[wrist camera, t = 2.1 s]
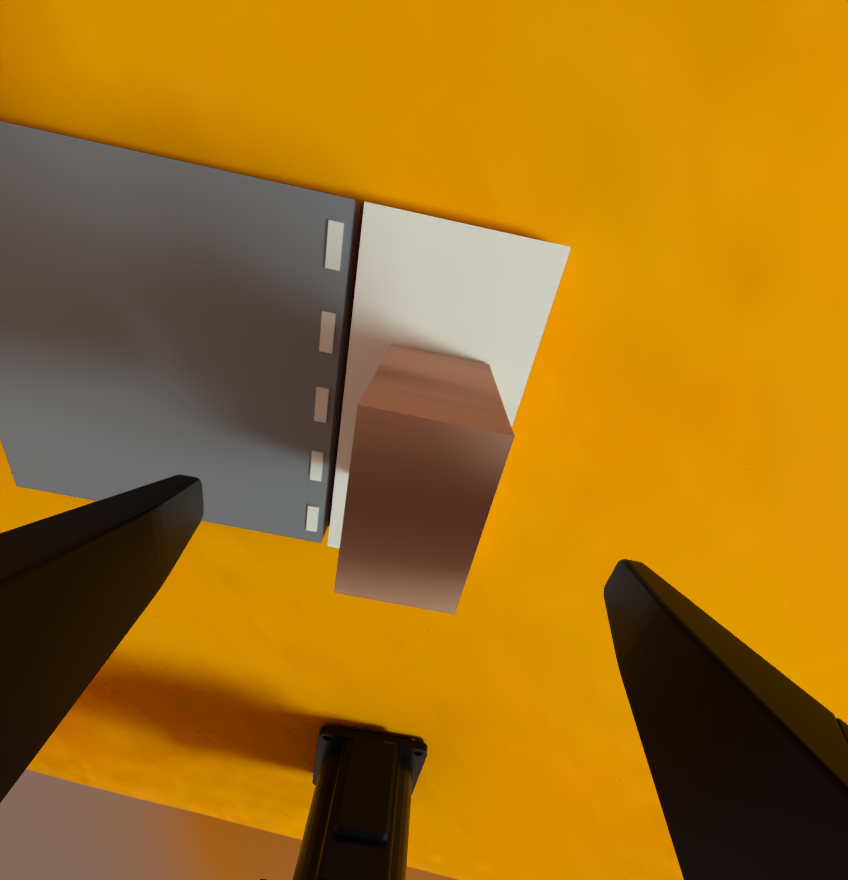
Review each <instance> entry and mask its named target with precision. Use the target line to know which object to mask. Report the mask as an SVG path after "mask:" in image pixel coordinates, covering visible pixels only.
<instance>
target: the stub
mask: <svg viewBox="0 0 848 880" xmlns="http://www.w3.org/2000/svg"><path fill="white" fill-rule="evenodd" d="M570 249H571V247H568V246H564V245H559V244H555V243H550V242H546V241H541V240H536V239H532V238H527V237H523V236H518V235H514V234H509V233H505V232H500V231H496V230H491V229H487V228H482V227H478V226H473V225H469V224H464V223H460V222H455V221H451V220H446V219H442V218H437V217H433V216H428V215H424V214H419V213H415V212H410V211H406V210H401V209H397V208H392V207H388V206H383V205H379V204H374V203H370V202H365V201H364V209H363V219H362V228H361V238H360V247H359V256H358V266H357V275H356V284H355V294H354V303H353V312H352V322H351V331H350V341H349V350H348V359H347V369H346V378H345V387H344V397H343V406H342V416H341V425H340V434H339V444H338V453H337V462H336V472H335V481H334V490H333V500H332V509H331V519H330V528H329V537H328V546H330V547H336V548H340V549H339V557H338V565H337V573H336V581H335V589H334V592H335V593H341V594H346V595H351V596H357V597H362V598H368V599H373V600H379V601H384V602H390V603H395V604H401V605H406V606H412V607H417V608H423V609H428V610H434V611H439V612H445V613H450V614H455V611H456V608H457V605H458V602H459V599H460V596H461V593H462V590H463V587H464V584H465V581H466V578H467V575H468V572H469V569H470V566H471V564H472V561H473V558H474V555H475V552H476V549H477V546H478V543H479V540H480V537H481V534H482V531H483V528H484V525H485V522H486V519H487V516H488V513H489V510H490V507H491V504H492V501H493V498H494V495H495V492H496V489H497V486H498V483H499V480H500V477H501V474H502V471H503V468H504V465H505V462H506V459H507V457H508V454H509V451H510V448H511V445H512V442H513V439H514V434H513V431H512V425H513V422H514V419H515V416H516V413H517V410H518V407H519V404H520V401H521V398H522V395H523V392H524V389H525V386H526V383H527V380H528V377H529V374H530V370H531V367H532V364H533V361H534V358H535V355H536V352H537V349H538V346H539V343H540V340H541V337H542V334H543V331H544V328H545V325H546V322H547V319H548V316H549V313H550V310H551V307H552V304H553V301H554V298H555V295H556V292H557V288H558V285H559V282H560V279H561V276H562V273H563V270H564V267H565V264H566V261H567V258H568V255H569V252H570Z"/></svg>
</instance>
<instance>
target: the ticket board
mask: <svg viewBox="0 0 848 880" xmlns="http://www.w3.org/2000/svg"><path fill="white" fill-rule="evenodd" d="M360 212H361V203H360V202H358V201H356V200H354V199H350V198H346V197H341V196H337V195H332V194H328V193H323V192H319V191H314V190H310V189H305V188H301V187H296V186H292V185H287V184H283V183H278V182H274V181H269V180H265V179H260V178H256V177H251V176H247V175H242V174H238V173H233V172H229V171H224V170H220V169H215V168H211V167H206V166H202V165H197V164H193V163H188V162H183V161H179V160H174V159H170V158H165V157H161V156H156V155H152V154H147V153H143V152H138V151H134V150H129V149H125V148H120V147H116V146H111V145H107V144H102V143H98V142H93V141H89V140H84V139H80V138H75V137H71V136H66V135H62V134H57V133H53V132H48V131H44V130H39V129H35V128H30V127H26V126H21V125H17V124H12V123H7V122H3V121H0V439H1V442H2V445H3V448H4V451H5V454H6V457H7V460H8V463H9V465H10V468H11V471H12V474H13V477H14V480H15V483H16V486H20V487H25V488H30V489H36V490H41V491H46V492H52V493H57V494H62V495H68V496H73V497H78V498H84V499H89V500H94V501H99V500H102V499H105V498H108V497H111V496H114V495H117V494H120V493H123V492H126V491H129V490H132V489H135V488H138V487H142V486H145V485H148V484H151V483H154V482H157V481H160V480H163V479H166V478H169V477H172V476H175V475H179V474H181V475H187V476H192V477H197V478H199V479H200V480H201V482H202V489H203V502H204V514H203V517H202V520H201V521H207V522H212V523H217V524H223V525H228V526H233V527H239V528H244V529H249V530H255V531H260V532H265V533H271V534H276V535H281V536H287V537H292V538H297V539H303V540H308V541H313V542H319V543H321V541H322V539H323V537H324V534H325V532H326V530H327V527H328V519H329V510H330V500H331V491H332V481H333V471H334V462H335V452H336V443H337V433H338V423H339V414H340V404H341V394H342V385H343V375H344V366H345V356H346V346H347V337H348V327H349V318H350V308H351V298H352V289H353V279H354V269H355V260H356V250H357V241H358V231H359V221H360Z"/></svg>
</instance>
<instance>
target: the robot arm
mask: <svg viewBox="0 0 848 880" xmlns="http://www.w3.org/2000/svg"><path fill="white" fill-rule="evenodd" d="M203 514H204V502H203V489H202V482H201V480H200V479H199V478H197V477H192V476H187V475H181V474H179V475H175V476H172V477H169V478H166V479H163V480H160V481H157V482H154V483H151V484H148V485H145V486H142V487H138V488H135V489H132V490H129V491H126V492H123V493H120V494H117V495H114V496H111V497H108V498H105V499H102V500H99V501H96V502H93V503H90V504H87V505H84V506H81V507H78V508H75V509H72V510H69V511H66V512H63V513H60V514H57V515H54V516H51V517H48V518H45V519H42V520H39V521H36V522H33V523H30V524H27V525H24V526H21V527H18V528H15V529H12V530H9V531H6V532H3V533H0V803H1V801H2V800H3V798H4V797H5V796H6V795H7V793H8V792H9V791H10V789H11V788H12V787H13V785H14V784H15V783H16V781H17V780H18V779H19V777H20V776H21V775H22V773H23V772H24V771H25V769H26V768H27V767H28V765H29V764H30V763H31V761H32V760H33V758H34V757H35V756H36V754H37V753H38V752H39V750H40V749H41V748H42V746H43V745H44V744H45V742H46V741H47V740H48V738H49V737H50V736H51V734H52V733H53V732H54V730H55V729H56V728H57V726H58V725H59V724H60V722H61V721H62V720H63V718H64V717H65V716H66V714H67V713H68V712H69V710H70V709H71V708H72V706H73V705H74V704H75V702H76V701H77V700H78V698H79V697H80V695H81V694H82V693H83V691H84V690H85V689H86V687H87V686H88V685H89V683H90V682H91V681H92V679H93V678H94V677H95V675H96V674H97V673H98V671H99V670H100V669H101V667H102V666H103V665H104V663H105V662H106V661H107V659H108V658H109V657H110V655H111V654H112V653H113V651H114V650H115V649H116V647H117V646H118V645H119V643H120V642H121V641H122V639H123V638H124V637H125V635H126V634H127V632H128V631H129V630H130V628H131V627H132V626H133V624H134V623H135V622H136V620H137V619H138V618H139V616H140V615H141V614H142V612H143V611H144V610H145V608H146V607H147V606H148V604H149V603H150V602H151V600H152V599H153V598H154V596H155V595H156V593H157V592H158V591H159V589H160V588H161V586H162V585H163V583H164V582H165V580H166V579H167V577H168V576H169V574H170V572H171V571H172V569H173V567H174V566H175V564H176V562H177V561H178V559H179V557H180V556H181V554H182V552H183V550H184V549H185V547H186V545H187V544H188V542H189V540H190V539H191V537H192V535H193V534H194V532H195V530H196V529H197V527H198V525H199V524H200V522H201V520H202V517H203ZM604 600H605V605H606V609H607V614H608V619H609V624H610V629H611V634H612V639H613V644H614V649H615V653H616V658H617V662H618V666H619V670H620V674H621V677H622V681H623V684H624V687H625V690H626V694H627V697H628V700H629V703H630V707H631V710H632V713H633V716H634V719H635V723H636V726H637V729H638V732H639V736H640V739H641V742H642V745H643V749H644V752H645V755H646V758H647V762H648V765H649V768H650V771H651V774H652V778H653V781H654V784H655V787H656V791H657V794H658V797H659V800H660V804H661V807H662V810H663V813H664V817H665V820H666V823H667V826H668V830H669V833H670V836H671V839H672V842H673V846H674V849H675V852H676V855H677V859H678V862H679V865H680V868H681V872H682V875H683V878H684V880H848V725H847V724H846V723H845V722H843V721H842V720H841V719H839V718H835V716H834V714H833V713H832V712H830V711H829V710H828V709H827V708H825V707H824V706H823V705H822V704H820V703H819V702H818V701H817V700H815V699H814V698H813V697H811V696H810V695H809V694H808V693H806V692H805V691H804V690H803V689H801V688H800V687H799V686H798V685H796V684H795V683H794V682H792V681H791V680H790V679H789V678H787V677H786V676H785V675H784V674H782V673H781V672H780V671H779V670H777V669H776V668H775V667H774V666H772V665H771V664H770V663H768V662H767V661H766V660H765V659H763V658H762V657H761V656H760V655H758V654H757V653H756V652H755V651H753V650H752V649H751V648H749V647H748V646H747V645H746V644H744V643H743V642H742V641H741V640H739V639H738V638H737V637H736V636H734V635H733V634H732V633H731V632H729V631H728V630H727V629H725V628H724V627H723V626H722V625H720V624H719V623H718V622H717V621H715V620H714V619H713V618H712V617H710V616H709V615H708V614H707V613H705V612H704V611H703V610H701V609H700V608H699V607H698V606H696V605H695V604H694V603H693V602H691V601H690V600H689V599H688V598H686V597H685V596H684V595H682V594H681V593H680V592H679V591H677V590H676V589H675V588H674V587H672V586H671V585H670V584H669V583H667V582H666V581H665V580H664V579H662V578H661V577H660V576H658V575H657V574H656V573H655V572H653V571H652V570H651V569H650V568H648V567H647V566H646V565H645V564H643V563H641V562H638V561H633V560H627V559H622V560H620V561H619V562H618V563H617V565H616V567H615V568H614V570H613V572H612V574H611V576H610V577H609V579H608V581H607V583H606V585H605V588H604ZM426 756H427V745H426V744H425V743H423V742H420V741H414V740H408V739H402V738H396V737H390V736H384V735H378V734H372V733H366V732H361V731H355V730H349V729H343V728H337V727H331V726H323V727H322V728H321V729H320V733H319V736H318V743H317V751H316V759H315V766H314V774H313V784H314V785H316V787H315V791H314V795H313V799H312V803H311V807H310V811H309V815H308V819H307V824H306V828H305V832H304V836H303V840H302V844H301V848H300V852H299V856H298V860H297V864H296V868H295V873H294V877H293V880H405V879H406V865H407V850H408V835H409V820H410V805H411V795H412V793H413V790H414V787H415V785H416V782H417V779H418V777H419V774H420V772H421V769H422V766H423V764H424V761H425V758H426ZM260 880H265V879H260Z"/></svg>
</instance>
